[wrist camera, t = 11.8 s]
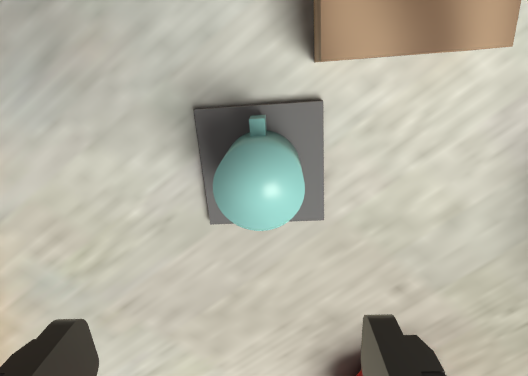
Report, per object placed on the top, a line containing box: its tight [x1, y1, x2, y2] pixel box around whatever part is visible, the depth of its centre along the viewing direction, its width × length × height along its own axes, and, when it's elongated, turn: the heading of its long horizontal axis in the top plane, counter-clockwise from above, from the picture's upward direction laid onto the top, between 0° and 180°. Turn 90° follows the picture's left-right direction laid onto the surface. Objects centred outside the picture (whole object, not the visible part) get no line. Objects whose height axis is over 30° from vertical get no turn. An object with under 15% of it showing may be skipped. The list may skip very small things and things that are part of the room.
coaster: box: [194, 100, 324, 224], centre depth 24 cm, size 9×9×1 cm
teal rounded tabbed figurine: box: [213, 115, 305, 231], centre depth 21 cm, size 8×6×4 cm
